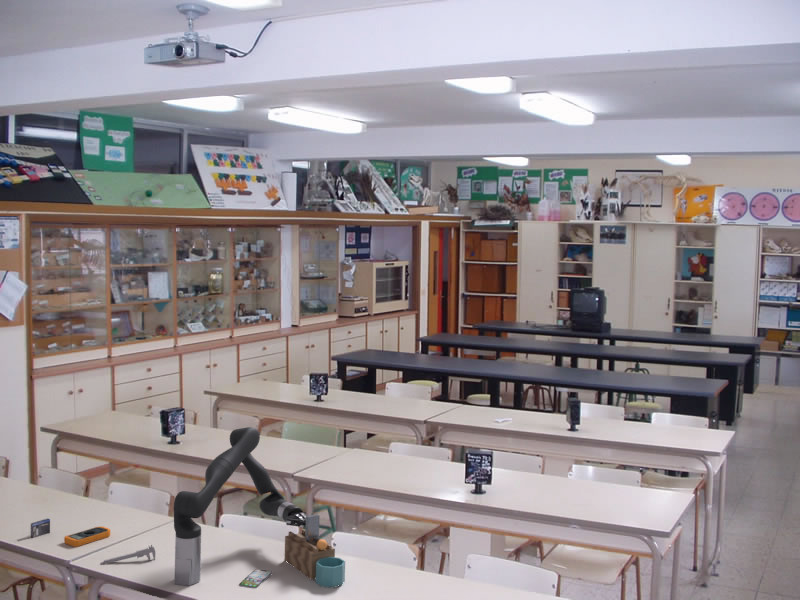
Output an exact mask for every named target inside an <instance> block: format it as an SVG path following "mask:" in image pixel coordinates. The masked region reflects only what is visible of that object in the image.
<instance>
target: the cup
mask: <svg viewBox="0 0 800 600" xmlns="http://www.w3.org/2000/svg"><path fill="white" fill-rule="evenodd" d="M345 581H346V560H344V559H342V558H340V557H336V556H335V557H326V558H321V559H319V560H318V561H317V562H316V579H315V584H317V585H318V584H319V585H318V586H320V587H321V586H324V587H323V588H331V587H333V588H336V587H335V586H337V587H339V586H338V585H341V586H343V585H344V583H345ZM343 582H344V583H343ZM342 584H343V585H342Z"/></svg>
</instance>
